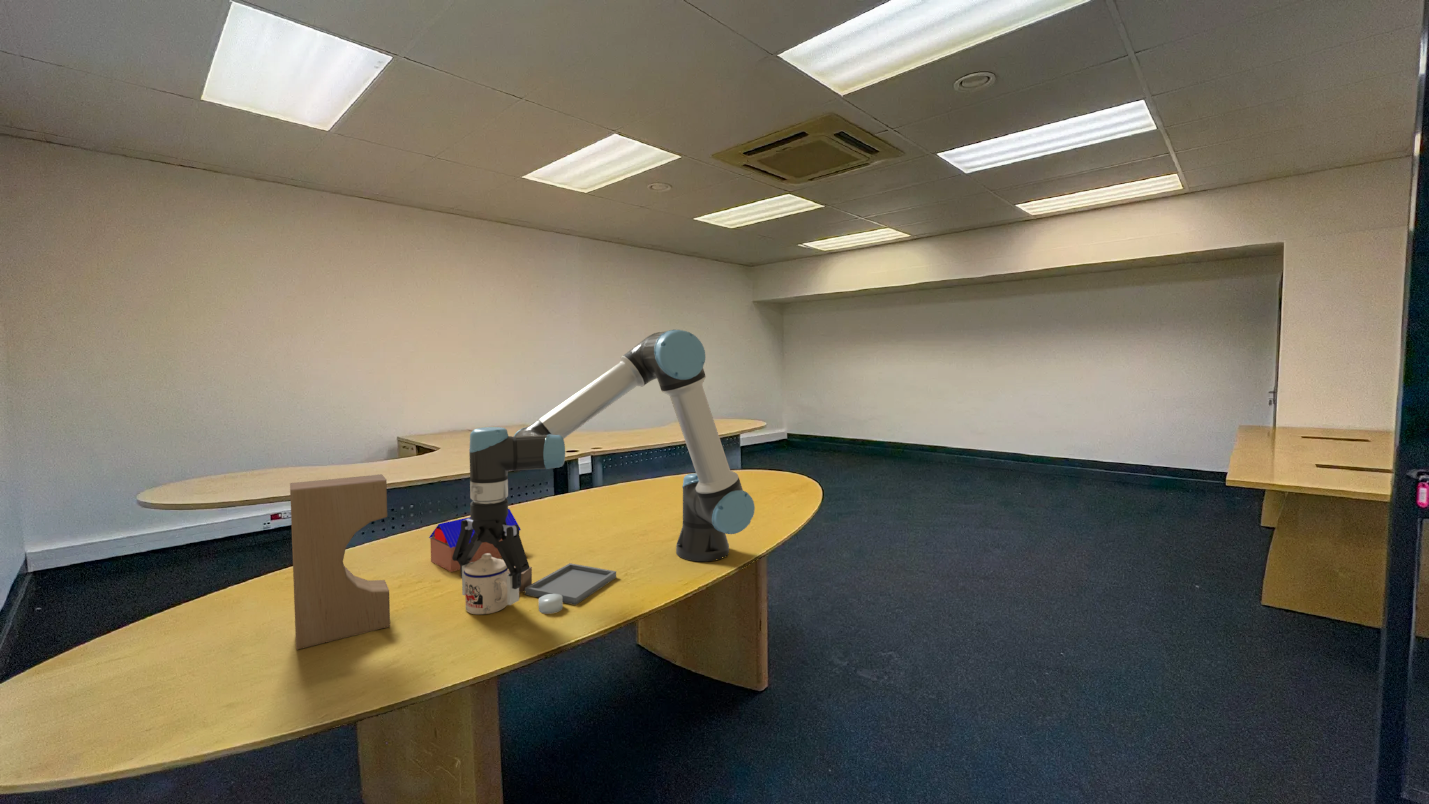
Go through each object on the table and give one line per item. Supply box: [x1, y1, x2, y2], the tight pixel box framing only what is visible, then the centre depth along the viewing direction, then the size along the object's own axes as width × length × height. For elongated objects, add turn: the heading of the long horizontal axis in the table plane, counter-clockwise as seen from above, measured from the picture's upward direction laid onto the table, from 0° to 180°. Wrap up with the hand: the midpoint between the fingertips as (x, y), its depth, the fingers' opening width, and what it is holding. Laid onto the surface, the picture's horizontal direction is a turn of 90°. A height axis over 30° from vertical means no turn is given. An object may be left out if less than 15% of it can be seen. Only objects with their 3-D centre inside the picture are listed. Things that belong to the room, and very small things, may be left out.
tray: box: [524, 562, 617, 606], centre depth 130 cm, size 14×17×2 cm
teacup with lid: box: [464, 553, 508, 616], centre depth 117 cm, size 12×9×12 cm
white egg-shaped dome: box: [538, 594, 563, 615], centre depth 118 cm, size 5×5×2 cm
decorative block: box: [289, 474, 391, 650], centre depth 106 cm, size 15×8×30 cm, turn 128°
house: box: [428, 508, 522, 573], centre depth 148 cm, size 12×20×12 cm, turn 142°
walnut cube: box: [508, 566, 533, 593], centre depth 128 cm, size 4×4×4 cm
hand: (490, 597), depth 117 cm, fingers closed on teacup with lid, 12 cm apart
